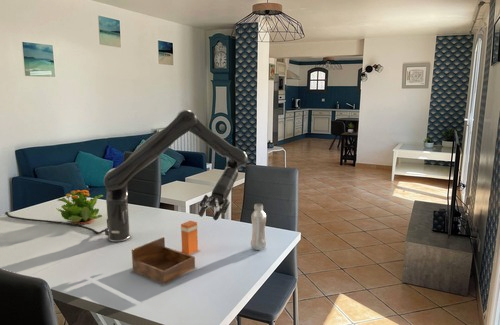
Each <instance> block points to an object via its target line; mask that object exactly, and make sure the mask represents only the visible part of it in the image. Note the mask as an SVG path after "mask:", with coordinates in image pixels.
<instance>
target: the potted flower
mask: <svg viewBox="0 0 500 325" xmlns="http://www.w3.org/2000/svg"><path fill="white" fill-rule="evenodd" d="M65 196H66V197H61V198H58V199H57V201H58V202H63V203H65V204H62V205H61V206H60V207H61V209H60V208H58V207H56V210H57V211H58V212H60V214H61V217H62V218H63V219H64V220H66V221H70V222H73V224H78V225H82V226H84V225H87V224H88V225H89V224H91V223H93V222H94V220H95V219H99V218H102V217H103V215H102V214H99V211H100V209H99V208H96V207H95V206H96V204H97V202H98V199H99V198H102V197H104V195H103V194H99V195H95V196H94V197H93V198H92V197H91V198H90V191H89V190H87V189H82V190H79V189H76V190H71V191H70V193H66V194H65ZM70 198H71V199H70ZM88 198H90V199H88Z"/></svg>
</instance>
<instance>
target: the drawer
mask: <svg viewBox="0 0 500 325" xmlns="http://www.w3.org/2000/svg"><path fill="white" fill-rule="evenodd" d="M131 261H132V262H131V263H132V272H135V273H137V274H139V275H142V276H144V277H146V278H148V279H151V280H153V281H155V282H158V283H160V284H162V285H166V284H168V283H169V282H171V281H173V280H175V279H177V278H179V277H182V276H183V275H185V274H186V273H188V272H190V271H192V270H195V269H196V257H195V256H193V255H191V254H189V255H188V254H185V253H182V251H179V250H176V249H173V248H170V247H167V246H166V240H165V237H164V236H163V237H159V238H158V239H155V240H153V241H151V242H147V243H144V244H143V245H140V246H137V247H135V248H132V249H131Z"/></svg>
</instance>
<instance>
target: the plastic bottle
mask: <svg viewBox="0 0 500 325" xmlns="http://www.w3.org/2000/svg"><path fill="white" fill-rule="evenodd" d="M253 209H254V211H252V213H251V216H250V219H251V229H252V231H251V232H252V233H251V239H250V247H251V248H252V250H255V251H261V250H264V249H266V246H267V240H266V222H267V214H266V212H265V211H264V204H262V203H255V204H254V206H253Z"/></svg>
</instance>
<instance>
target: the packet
mask: <svg viewBox="0 0 500 325" xmlns="http://www.w3.org/2000/svg"><path fill="white" fill-rule="evenodd" d="M180 232H181V234H180V235H181V252H182V253H185V254H188V255H191V254H193V253H196V252H198V251H199V243H198V242H199V240H198V238H199V237H198V222H197V221H194V220H188V221H186V222H183V223H180Z"/></svg>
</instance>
